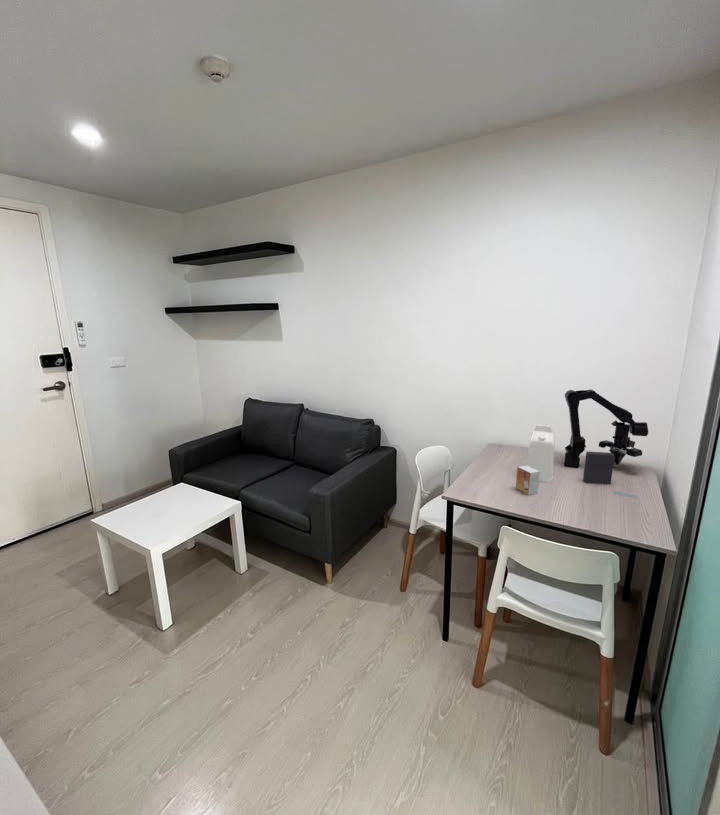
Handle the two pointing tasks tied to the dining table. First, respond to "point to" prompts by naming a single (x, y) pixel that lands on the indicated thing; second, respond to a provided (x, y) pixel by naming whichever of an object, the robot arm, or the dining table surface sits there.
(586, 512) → the dining table surface
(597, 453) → the calculator
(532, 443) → the milk
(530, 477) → the small box
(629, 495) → the mat
